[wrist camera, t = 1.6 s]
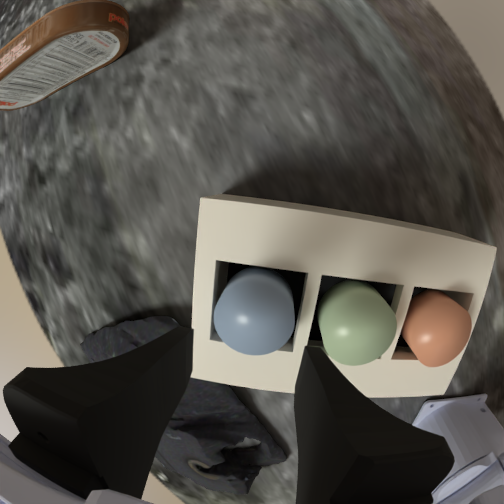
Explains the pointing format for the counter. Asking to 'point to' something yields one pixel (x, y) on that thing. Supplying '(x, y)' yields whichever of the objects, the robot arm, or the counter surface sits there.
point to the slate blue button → (255, 312)
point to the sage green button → (355, 323)
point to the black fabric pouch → (197, 418)
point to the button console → (315, 265)
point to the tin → (61, 50)
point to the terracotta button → (436, 328)
